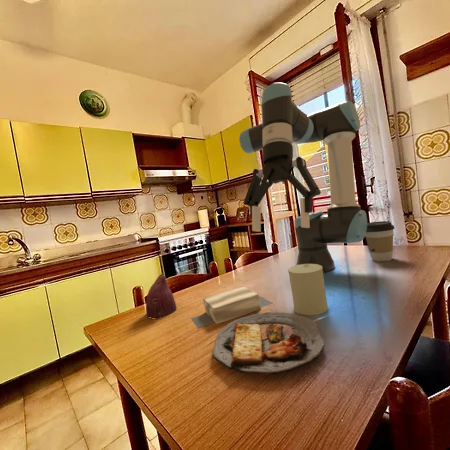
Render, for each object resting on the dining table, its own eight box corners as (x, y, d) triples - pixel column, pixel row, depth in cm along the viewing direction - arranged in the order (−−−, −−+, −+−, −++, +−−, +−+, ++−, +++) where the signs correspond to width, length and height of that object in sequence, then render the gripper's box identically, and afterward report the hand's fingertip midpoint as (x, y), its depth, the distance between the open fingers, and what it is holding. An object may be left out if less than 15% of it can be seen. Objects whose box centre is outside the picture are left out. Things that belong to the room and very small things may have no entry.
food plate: (337, 379, 43) (334, 359, 43) (204, 387, 47) (201, 368, 47) (312, 317, 68) (309, 304, 68) (226, 325, 72) (223, 313, 72)
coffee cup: (360, 258, 112) (356, 224, 111) (386, 254, 112) (382, 220, 111) (376, 264, 100) (371, 226, 99) (405, 259, 100) (400, 221, 99)
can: (329, 301, 74) (323, 261, 73) (327, 316, 66) (321, 270, 65) (296, 301, 78) (290, 262, 77) (291, 315, 70) (284, 272, 69)
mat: (191, 319, 78) (191, 318, 78) (260, 297, 87) (260, 296, 86) (198, 329, 70) (198, 328, 70) (273, 304, 79) (272, 303, 79)
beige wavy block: (205, 311, 81) (203, 298, 81) (245, 299, 86) (243, 286, 86) (216, 324, 71) (213, 308, 71) (260, 309, 76) (258, 294, 76)
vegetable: (181, 315, 91) (186, 272, 90) (165, 325, 81) (170, 278, 80) (156, 308, 94) (161, 267, 94) (137, 317, 84) (142, 272, 84)
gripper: (230, 154, 71) (230, 231, 69) (319, 123, 54) (323, 223, 52) (247, 162, 77) (248, 233, 74) (333, 135, 60) (337, 227, 57)
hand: (279, 229), depth 63 cm, fingers open, 13 cm apart
